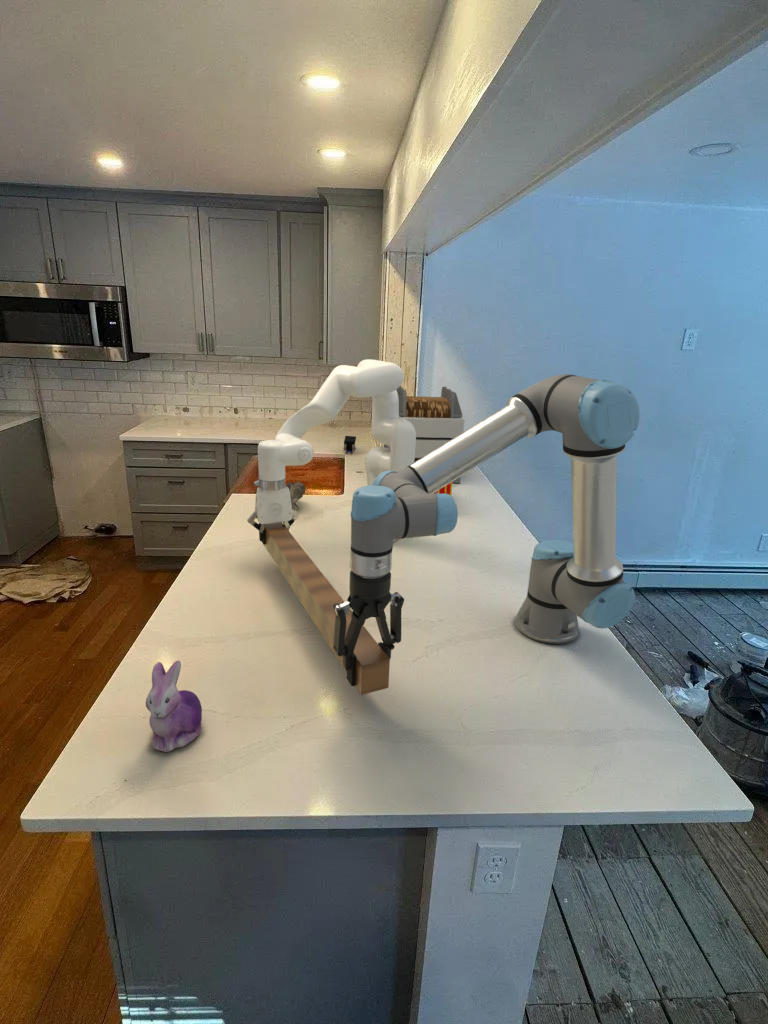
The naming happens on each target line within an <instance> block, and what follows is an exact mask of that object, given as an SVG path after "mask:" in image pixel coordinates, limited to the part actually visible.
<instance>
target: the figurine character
mask: <svg viewBox="0 0 768 1024" xmlns="http://www.w3.org/2000/svg"><path fill="white" fill-rule="evenodd" d="M356 440H357V436H356V435H355V436H353V435H345V436H344V440H343V451H345V454H346V455H347V454H348V453H350V454H351V455H352V454H353V452H355V450H356V449H357V447H356Z"/></svg>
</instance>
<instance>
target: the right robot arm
mask: <svg viewBox="0 0 768 1024" xmlns="http://www.w3.org/2000/svg"><path fill="white" fill-rule="evenodd" d="M640 411H641V410H640V405H639V402H638V399H637V397H636V396H635V394H634V393H633V392H632V390H630V389H629V388H628V387H626V386H625V385H623V384H620V383H616V382H614V381H612V380H607V379H597V378H592V377H587V376H580V375H576V374H571V373H564V374H557V375H554V376H550V377H547V378H545V379H542V380H540V381H538V382H536V383H534V384H532V385H529V386H528V387H526V388H524V389H523V390H521V391H519V392H517V393H516V394H514V395H513V396H511V397H509V398H508V399H507V401H506V404H505V406H503V407H502V408H500V409H498V410H497V411H496V412H494V413H493V414H490V415H489V416H488V417H486V418H484V419H482V420H481V421H479V422H477V423H476V424H474V425H473V426H471V427H470V428H467V429H466V430H464V432H463V433H461V434H460V435H458V436H456V437H455V438H453V439H452V440H450V441H448V442H447V443H445V444H443V445H442V446H440V447H439V448H437V449H435V450H434V451H432V452H430V453H429V454H427V455H425V456H424V457H422V458H421V459H419V460H417V461H416V462H414V463H412V464H411V465H409V466H407V467H406V468H404V469H402V470H401V471H399V472H395V471H385V472H382V473H381V474H379V475H378V476H377V477H376V479H375V480H374V482H373V485H369V486H368V485H363V486H360V487H358V488H357V489H356V490H355V491H354V492H353V494H352V500H351V511H350V522H351V523H350V555H349V570H350V571H349V595H348V597H347V599H346V601H344V602H345V603H343V604H341V605H339V604H338V603H336V604H334V605H333V608H334V611H335V614H336V616H335V630H334V643H333V648H334V650H335V651H336V653H337V654H338V656H342V655H343V666H344V668H345V670H346V671H347V673H346V680H347V682H348V683H349V685H350V686H351V687H355V683H356V655H355V654H354V649H355V646H356V643H357V640H358V637H359V634H360V631H361V628H362V625H363V626H364V625H365V623H366V620H368V619H370V618H375V621H376V623H377V624H376V625H377V628H378V632H379V635H380V639H381V641H380V642H377V643H378V645H379V646H380V647H381V648H382V650H383V651H384V652H385V654H386V655H387V656H388V657H389V659H390V660H391V658H392V651H393V650H394V649H395V645H394V644H400V643H401V642H402V608H403V605H404V603H405V598H404V597H403V596H402V595H401V594H400V593H399V592H398V591H394V593H391V586H392V583H391V582H392V573H391V571H392V566H393V565H392V563H393V550H394V549H393V548H394V541H393V540H395V539H396V540H402V539H412V538H421V537H423V538H424V537H431V536H434V537H437V536H439V535H444V534H445V535H446V534H449V533H451V532H452V531H454V530H455V528H456V527H457V523H458V517H459V513H458V511H459V510H458V506H457V503H456V501H455V499H454V497H453V496H452V497H451V496H450V495H449V494H438V493H435V492H436V491H438V490H440V489H441V488H443V487H444V486H446V485H448V484H449V483H451V482H453V481H454V480H456V479H457V478H459V477H460V478H461V477H462V476H464V475H465V474H467V473H468V472H470V471H472V470H473V469H475V468H476V467H478V466H480V465H482V464H484V463H485V462H486V461H488V460H490V459H491V458H493V457H494V456H496V455H498V454H499V453H501V452H503V451H505V450H506V449H508V448H509V447H511V446H512V445H514V444H516V443H517V442H519V441H520V440H522V439H524V438H528V439H533V438H534V437H536V436H537V435H539V434H541V433H544V432H549V431H555V432H558V433H561V435H562V452H563V453H564V454H565V455H566V456H567V457H568V458H570V465H571V467H570V469H571V506H572V509H571V510H572V541H567V540H558V539H557V540H556V539H555V540H554V539H553V540H544V541H541V542H539V543H537V544H536V545H535V546H534V548H533V551H532V552H533V553H532V556H531V561H530V570H529V579H528V585H527V593H526V597H525V598H524V600H523V602H522V604H521V606H520V608H519V610H518V612H517V615H516V616H515V617H516V618H515V626H516V628H517V630H518V631H519V632H520V633H521V634H522V635H524V636H526V637H527V638H529V639H531V640H534V641H536V642H540V643H543V644H549V645H561V644H562V645H564V644H568V643H571V642H573V641H574V640H576V638H577V637H578V635H579V620H578V618H580V619H581V620H582V621H583V622H585V623H588V624H589V625H591V626H592V627H594V628H596V629H602V630H603V629H609V628H611V627H614V626H616V625H618V624H619V623H620V622H621V621H622V620H624V618H626V616H627V615H628V614H629V613H630V611H631V610H632V608H633V606H634V603H635V600H636V594H635V590H634V588H633V587H632V586H631V584H629V583H626V582H625V581H624V564H623V562H621V560H619V559H618V558H617V476H618V475H617V470H618V469H617V467H618V465H617V464H618V460H617V459H618V456H619V455H620V454H621V453H622V452H624V451H625V450H626V444H628V443H629V442H630V441H631V440H632V438H633V437H634V434H635V433H634V431H637V430H638V427H639V424H640V417H641V413H640ZM433 493H435V494H433ZM396 540H395V541H396ZM388 605H389V625H388V622H387V615H386V611H385V609H386V608H387V606H388ZM349 608H350V609H351V611H352V615H351V618H352V619H351V622H350V625H349V628H348V631H347V634H346V637H345V633H346V616H347V615H348V610H349ZM344 668H343V669H344ZM345 670H344V671H345ZM346 671H345V672H346Z"/></svg>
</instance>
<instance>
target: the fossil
mask: <svg viewBox="0 0 768 1024" xmlns="http://www.w3.org/2000/svg"><path fill="white" fill-rule="evenodd" d="M286 486H287V487H288V488H289V491H290V497H291V505H292V507H294V506H295V507H296V508H297V509H299V510H300V507H299V506H298V504H297V503H298V501H299V500H301V499H302V498H303V496H304V495H305V494H306V492H307V491H306V486H305V484H304V483H302V482H301V481H297V482H296V483H294V482H293V481H292V482H287V483H286Z"/></svg>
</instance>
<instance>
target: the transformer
mask: <svg viewBox="0 0 768 1024" xmlns="http://www.w3.org/2000/svg"><path fill="white" fill-rule="evenodd" d="M396 390H397V393H398V398H399V418H403V419H406V420H408V421H410V422H411V423H412V424H413V426H414V428H415V432H416V446H415V459H414V462H416V461H417V460H419V459H421V458H422V457H424V456H425V455H427V454H429V453H430V452H432V451H434V450H435V449H437V448H439V447H440V446H442V445H443V444H445V443H447V442H448V441H450V440H452V439H453V438H455V437H456V436H458V435H460V434H461V433H463V432H465V430H464V429H465V419H464V418H463V411H462V408H461V405H460V402H459V398H458V395H457V392H455V391H453V390H452V389H451V388H447V386H442V387H441V392H440V393H441V394H440V396H415V395H414V396H413V395H412V396H411V395H407V394H408V393H407V390H406V389H404V388H403V387H402V385H400V387H399V388H398V389H396ZM383 447H386V448H389V449H391V446H388V445H384V444H383ZM455 483H456V484H459V483H461V477H459V478H457V479H456V480H454V481H453V482H452V484H455Z"/></svg>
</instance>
